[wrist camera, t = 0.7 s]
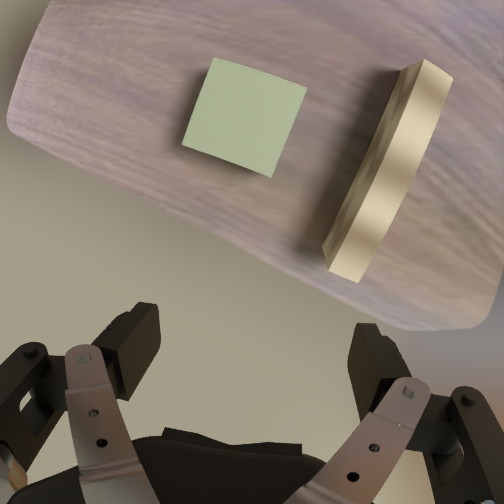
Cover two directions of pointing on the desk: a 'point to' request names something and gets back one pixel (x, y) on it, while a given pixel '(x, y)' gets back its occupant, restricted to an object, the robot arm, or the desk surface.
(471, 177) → the desk surface
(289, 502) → the robot arm
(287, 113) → the sage block
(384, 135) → the stop board
